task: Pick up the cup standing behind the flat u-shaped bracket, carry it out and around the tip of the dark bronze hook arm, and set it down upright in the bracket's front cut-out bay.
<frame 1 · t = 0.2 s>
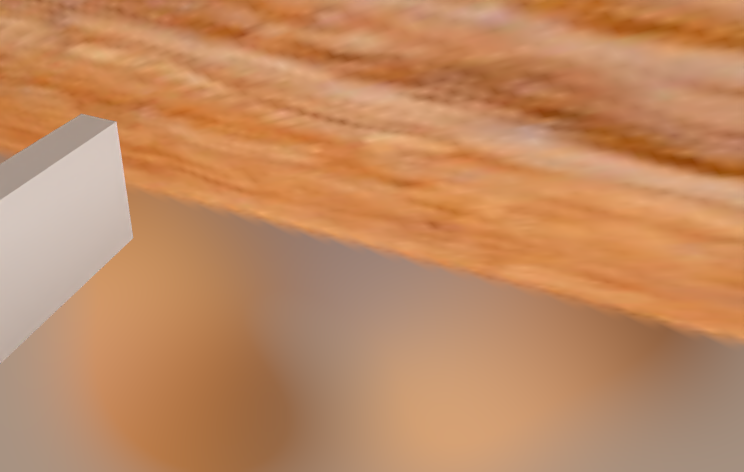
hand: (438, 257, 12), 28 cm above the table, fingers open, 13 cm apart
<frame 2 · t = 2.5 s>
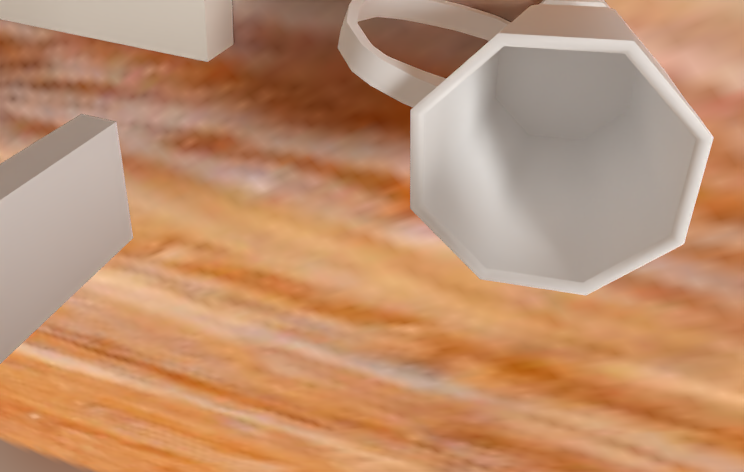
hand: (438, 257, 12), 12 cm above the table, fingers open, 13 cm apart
cup: (525, 40, 22), on the table
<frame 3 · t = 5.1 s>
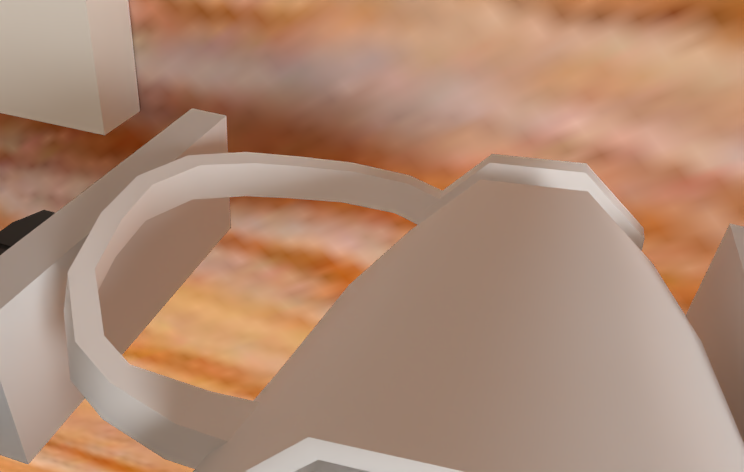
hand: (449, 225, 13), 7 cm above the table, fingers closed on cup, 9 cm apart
cup: (461, 212, 13), point 6 cm above the table, touching gripper
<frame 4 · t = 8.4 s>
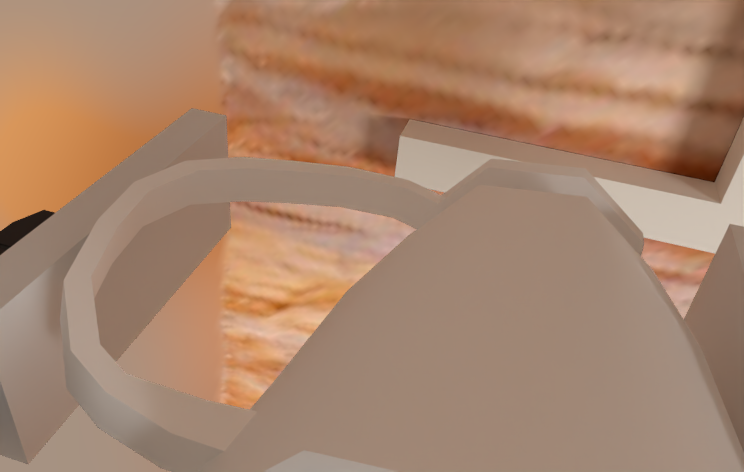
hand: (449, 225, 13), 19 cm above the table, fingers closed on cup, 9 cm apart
cup: (460, 216, 13), point 19 cm above the table, touching gripper
when the fingers open (0 cm above the table, at t = 11.8 s): cup stays where it is, on the table.
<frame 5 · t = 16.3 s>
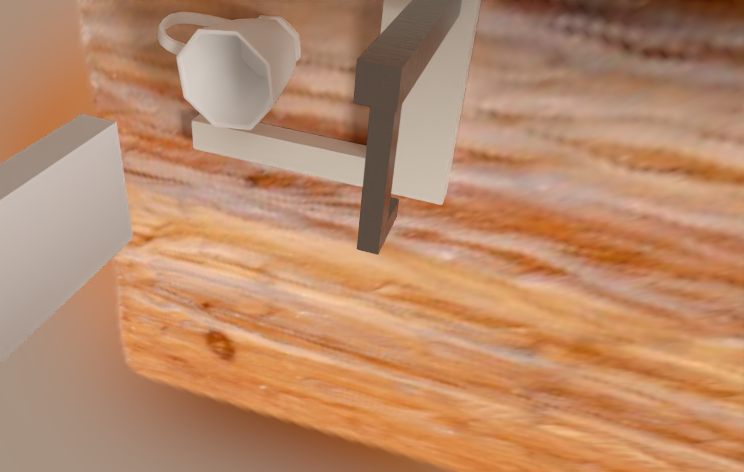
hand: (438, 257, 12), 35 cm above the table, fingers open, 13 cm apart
flat u-shaped bracket: (325, 27, 47), on the table
cup: (257, 34, 49), on the table
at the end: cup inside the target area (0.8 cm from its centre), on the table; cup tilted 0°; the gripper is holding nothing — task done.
